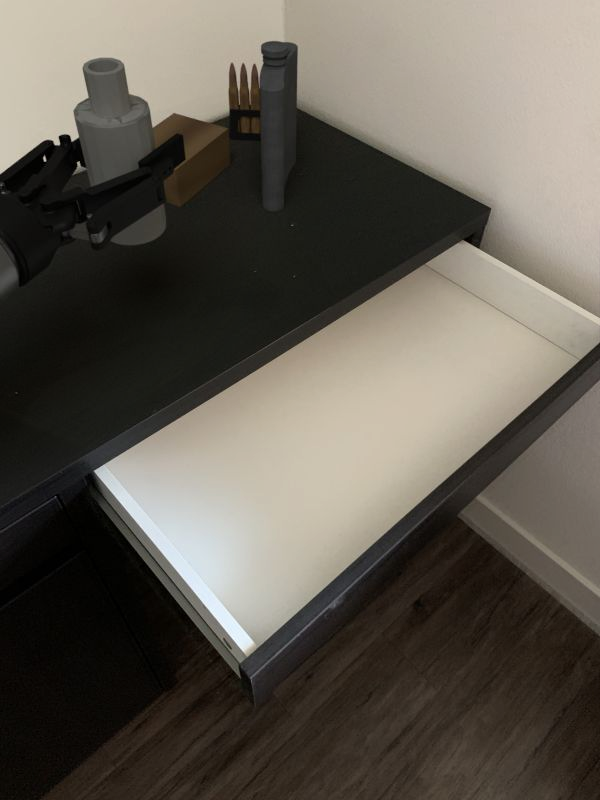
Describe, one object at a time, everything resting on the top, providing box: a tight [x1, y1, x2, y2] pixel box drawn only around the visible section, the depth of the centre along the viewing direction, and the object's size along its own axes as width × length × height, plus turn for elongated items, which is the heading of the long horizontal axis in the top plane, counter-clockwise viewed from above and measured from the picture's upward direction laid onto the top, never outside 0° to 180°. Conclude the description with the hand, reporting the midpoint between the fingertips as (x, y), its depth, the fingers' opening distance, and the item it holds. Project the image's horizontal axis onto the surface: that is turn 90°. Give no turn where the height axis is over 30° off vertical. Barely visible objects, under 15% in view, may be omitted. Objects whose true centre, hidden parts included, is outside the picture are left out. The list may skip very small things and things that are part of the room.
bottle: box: [72, 57, 167, 246], centre depth 66 cm, size 7×7×17 cm
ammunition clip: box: [228, 62, 261, 142], centre depth 107 cm, size 11×2×12 cm, turn 87°
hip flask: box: [259, 40, 299, 213], centre depth 95 cm, size 16×4×20 cm, turn 172°
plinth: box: [152, 112, 231, 208], centre depth 100 cm, size 10×14×6 cm
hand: (150, 137), depth 69 cm, fingers closed on bottle, 7 cm apart
